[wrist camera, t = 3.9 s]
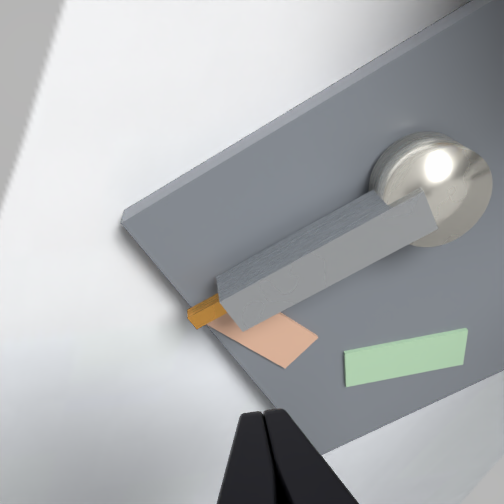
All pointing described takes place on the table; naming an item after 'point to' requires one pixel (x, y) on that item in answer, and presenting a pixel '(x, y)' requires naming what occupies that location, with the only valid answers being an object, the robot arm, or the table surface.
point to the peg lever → (361, 229)
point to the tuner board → (376, 274)
